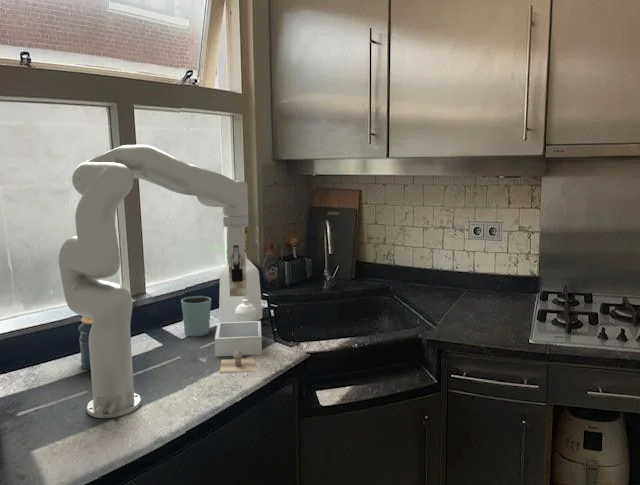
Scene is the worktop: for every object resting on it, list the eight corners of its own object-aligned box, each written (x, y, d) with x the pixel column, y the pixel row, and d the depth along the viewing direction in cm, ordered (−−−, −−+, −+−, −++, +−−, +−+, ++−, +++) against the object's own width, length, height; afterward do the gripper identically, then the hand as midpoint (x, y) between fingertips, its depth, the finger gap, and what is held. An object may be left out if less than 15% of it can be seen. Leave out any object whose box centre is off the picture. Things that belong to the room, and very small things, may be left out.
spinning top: (254, 328, 193) (253, 296, 191) (259, 335, 186) (258, 301, 184) (233, 330, 190) (232, 297, 188) (237, 337, 183) (236, 303, 181)
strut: (229, 296, 164) (228, 254, 162) (230, 292, 169) (229, 251, 167) (246, 295, 165) (245, 254, 162) (246, 291, 170) (245, 251, 167)
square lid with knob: (255, 376, 151) (255, 356, 150) (219, 378, 150) (219, 358, 149) (255, 362, 161) (255, 344, 160) (221, 364, 160) (221, 345, 159)
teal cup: (177, 335, 185) (175, 302, 183) (191, 326, 195) (189, 294, 193) (204, 338, 183) (203, 304, 181) (216, 328, 192) (215, 296, 190)
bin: (261, 358, 164) (261, 336, 163) (215, 361, 162) (214, 339, 161) (260, 340, 180) (260, 320, 179) (218, 342, 178) (217, 322, 177)
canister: (82, 358, 165) (78, 302, 162) (127, 352, 169) (123, 298, 167) (79, 374, 153) (75, 314, 150) (128, 367, 157) (124, 309, 155)
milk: (245, 326, 195) (243, 256, 190) (219, 322, 199) (216, 254, 195) (262, 317, 205) (261, 251, 201) (237, 314, 210) (235, 248, 206)
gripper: (224, 217, 171) (226, 273, 174) (221, 225, 154) (223, 286, 157) (248, 217, 172) (250, 272, 175) (247, 224, 155) (249, 285, 158)
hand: (237, 278), depth 166 cm, fingers closed on strut, 5 cm apart
